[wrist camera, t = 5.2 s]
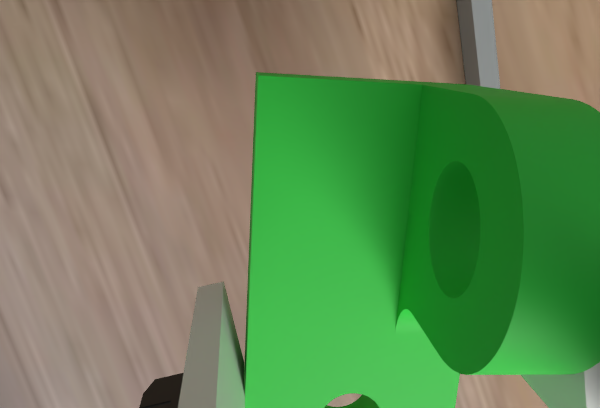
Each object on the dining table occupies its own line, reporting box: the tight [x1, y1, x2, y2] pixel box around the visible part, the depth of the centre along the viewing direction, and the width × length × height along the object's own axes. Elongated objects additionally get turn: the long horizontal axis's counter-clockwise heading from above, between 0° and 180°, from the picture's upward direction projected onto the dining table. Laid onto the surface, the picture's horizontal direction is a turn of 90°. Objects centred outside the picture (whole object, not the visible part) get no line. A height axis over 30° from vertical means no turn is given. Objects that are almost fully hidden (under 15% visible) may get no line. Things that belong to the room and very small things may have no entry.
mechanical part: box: [244, 72, 600, 408], centre depth 13 cm, size 12×6×8 cm, turn 177°
